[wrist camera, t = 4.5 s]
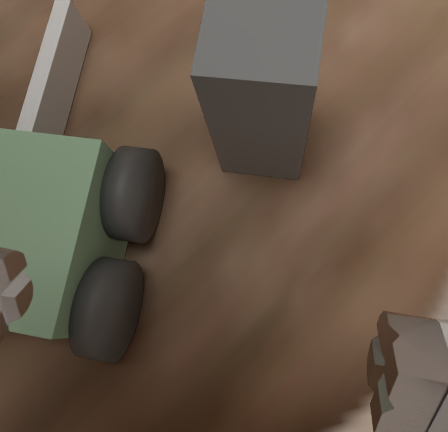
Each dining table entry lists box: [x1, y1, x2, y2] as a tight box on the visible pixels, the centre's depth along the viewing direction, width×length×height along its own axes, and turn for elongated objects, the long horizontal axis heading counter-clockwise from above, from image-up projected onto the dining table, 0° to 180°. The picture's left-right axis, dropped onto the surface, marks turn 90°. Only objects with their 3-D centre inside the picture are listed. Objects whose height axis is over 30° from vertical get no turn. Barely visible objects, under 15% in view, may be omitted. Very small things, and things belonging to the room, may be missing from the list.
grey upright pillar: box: [190, 0, 328, 180], centre depth 20 cm, size 4×4×10 cm
